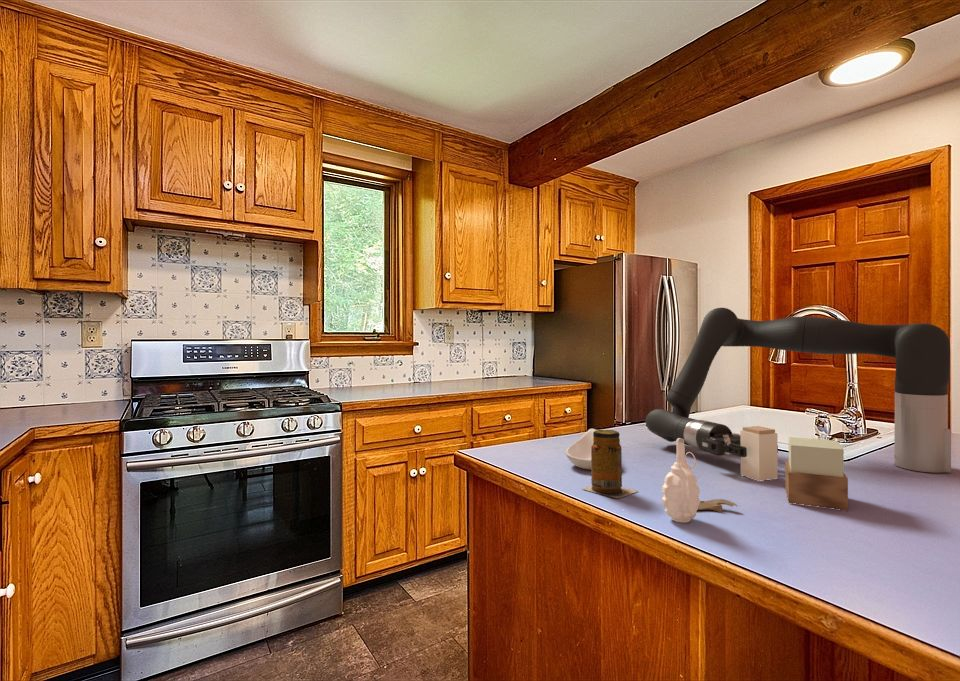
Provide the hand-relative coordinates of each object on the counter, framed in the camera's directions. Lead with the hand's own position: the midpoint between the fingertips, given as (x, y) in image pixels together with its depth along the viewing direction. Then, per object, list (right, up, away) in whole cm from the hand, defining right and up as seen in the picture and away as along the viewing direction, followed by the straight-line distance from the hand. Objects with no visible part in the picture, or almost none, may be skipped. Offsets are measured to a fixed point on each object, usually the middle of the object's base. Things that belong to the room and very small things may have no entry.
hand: (761, 450), depth 110 cm
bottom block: (+2, -6, -14) cm, 16 cm away
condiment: (-35, -7, -7) cm, 36 cm away
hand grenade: (-27, -7, -24) cm, 36 cm away
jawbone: (-19, -7, -11) cm, 23 cm away
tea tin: (0, -6, +1) cm, 6 cm away
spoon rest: (-33, -7, +17) cm, 37 cm away
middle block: (+2, 0, -14) cm, 14 cm away
